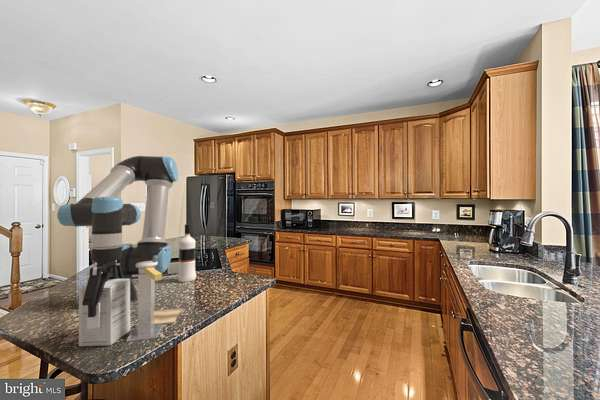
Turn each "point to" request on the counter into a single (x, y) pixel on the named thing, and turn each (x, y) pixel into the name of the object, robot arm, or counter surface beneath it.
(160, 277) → the handwheel arm
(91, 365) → the counter surface
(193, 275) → the vodka
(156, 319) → the trivet
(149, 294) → the post
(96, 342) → the supplement box
